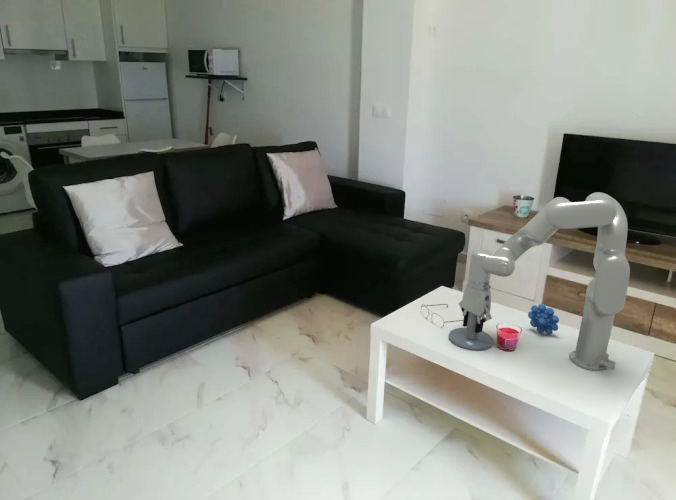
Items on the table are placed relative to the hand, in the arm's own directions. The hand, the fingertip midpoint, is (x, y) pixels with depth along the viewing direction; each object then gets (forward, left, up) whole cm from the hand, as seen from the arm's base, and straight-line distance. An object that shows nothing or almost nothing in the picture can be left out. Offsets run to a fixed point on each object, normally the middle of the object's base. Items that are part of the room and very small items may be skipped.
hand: (472, 328), depth 193 cm
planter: (0, 0, -4) cm, 4 cm away
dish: (0, 0, -5) cm, 5 cm away
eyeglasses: (+19, -5, -6) cm, 21 cm away
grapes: (-10, -28, -5) cm, 30 cm away
